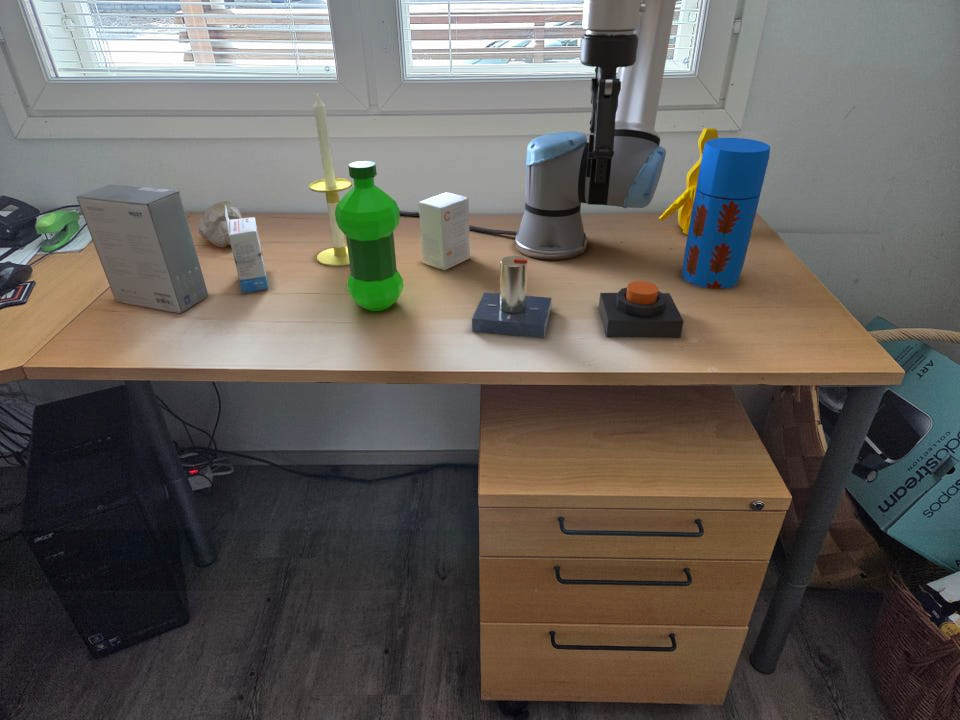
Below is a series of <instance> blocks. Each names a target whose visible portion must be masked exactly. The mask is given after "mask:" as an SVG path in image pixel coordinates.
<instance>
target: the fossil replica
mask: <svg viewBox="0 0 960 720" xmlns="http://www.w3.org/2000/svg"><path fill="white" fill-rule="evenodd" d="M225 205H226V208H227V213H228V217H229V220H233V219H241V218H243V217H242V214H241V212H240V210H239V209H238V207H237V206H236V205H235V206H234V205H233V204H232V203H231V202H230V201H228V200H224V201H220V202H217V203H214V204H212V205H211V206H209V207H207V209H206V210H205V211H204V212H203V217H201V218H200V219H199V222H198V233H199V235H200V237H201V238H202V239H204V240H207V241H209V242H210V243H211V244H212V245H214V246H216V247H218V248H226V247H227V246H231V243H230V239H229V235H228V230H227V225H226V220H225Z"/></svg>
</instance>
